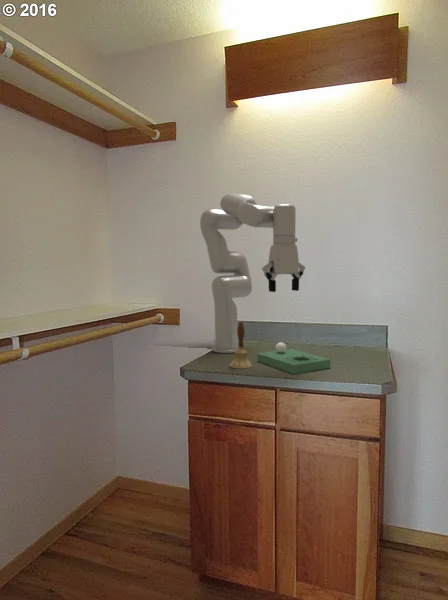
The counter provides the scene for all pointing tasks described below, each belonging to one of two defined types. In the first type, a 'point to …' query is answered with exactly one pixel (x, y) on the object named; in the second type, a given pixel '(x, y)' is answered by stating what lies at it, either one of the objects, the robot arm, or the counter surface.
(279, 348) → the ball
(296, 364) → the block
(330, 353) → the counter surface
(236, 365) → the hand bell
